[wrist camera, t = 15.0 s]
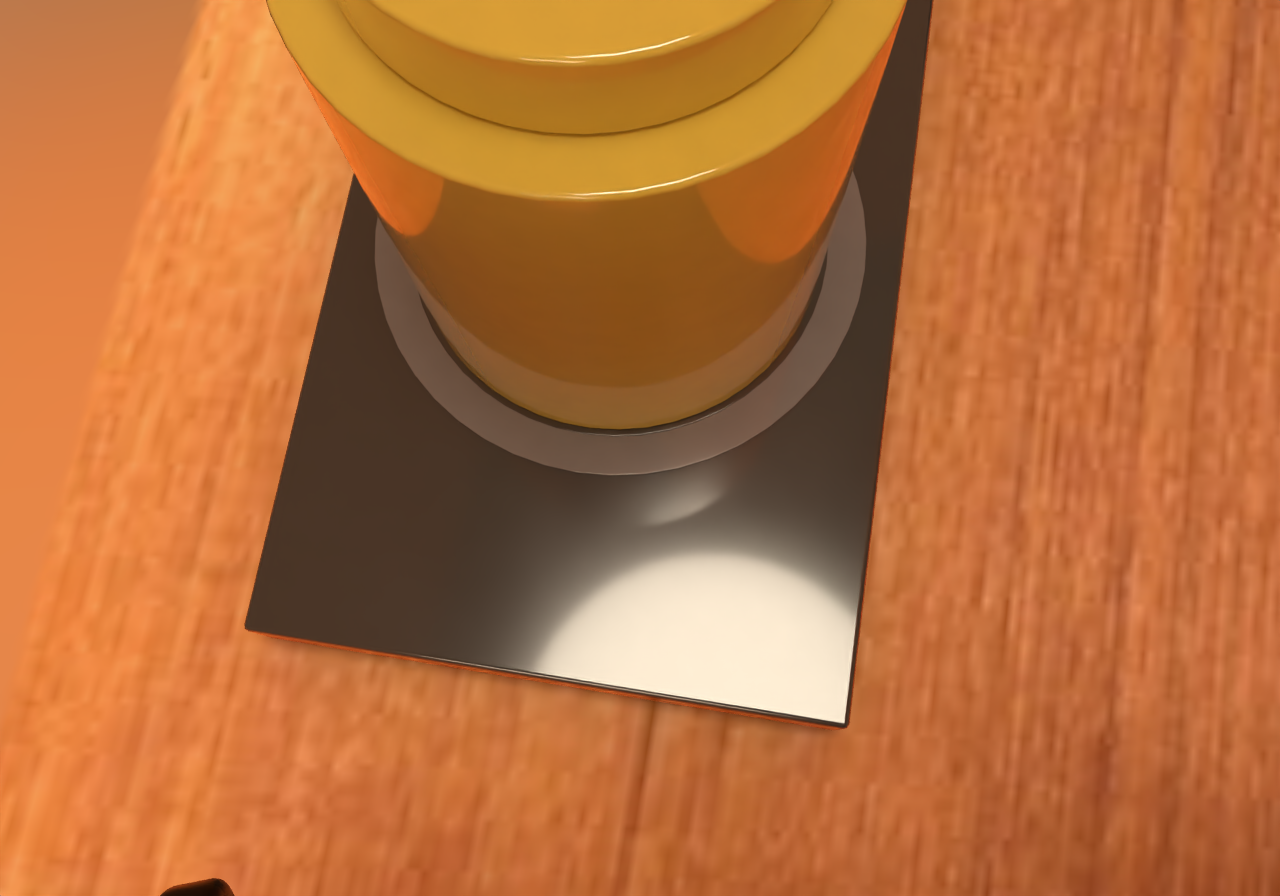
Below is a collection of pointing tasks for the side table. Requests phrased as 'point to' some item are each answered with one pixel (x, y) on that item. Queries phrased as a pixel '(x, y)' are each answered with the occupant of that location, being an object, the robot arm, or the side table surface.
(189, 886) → the robot arm
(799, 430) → the hob
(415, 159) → the jar
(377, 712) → the side table surface
